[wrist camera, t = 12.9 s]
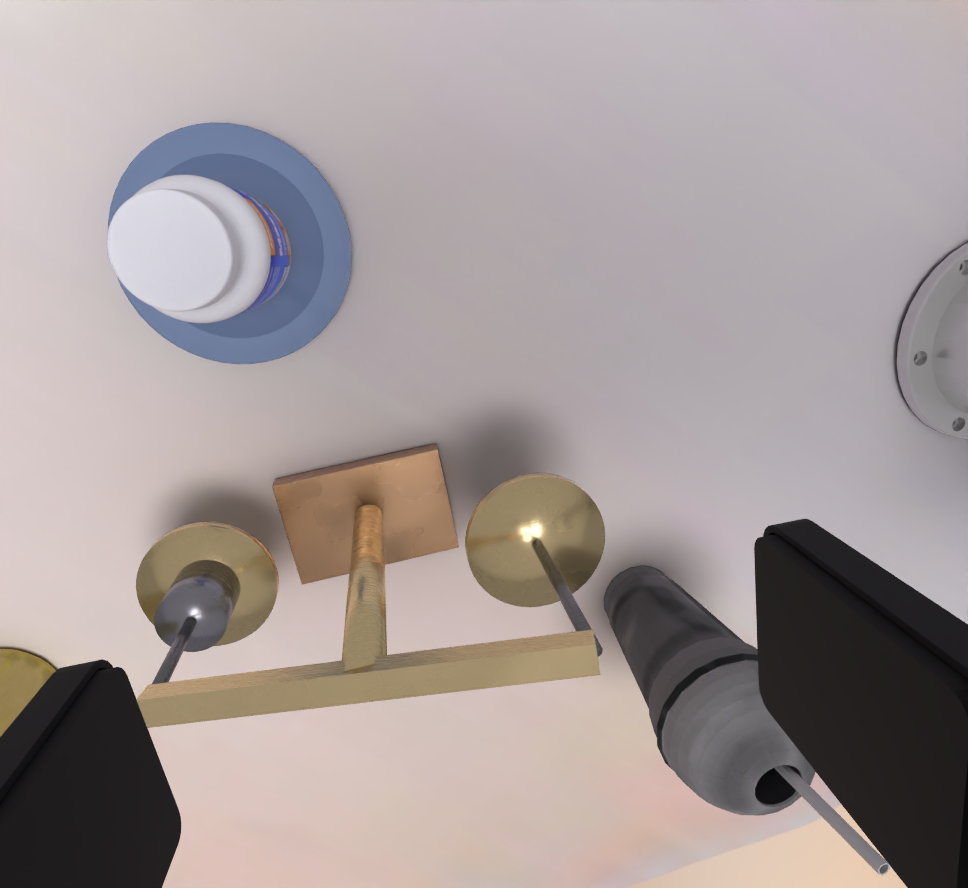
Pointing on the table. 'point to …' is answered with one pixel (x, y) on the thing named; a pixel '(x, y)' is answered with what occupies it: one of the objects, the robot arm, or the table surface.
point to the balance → (370, 587)
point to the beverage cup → (711, 704)
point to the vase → (19, 682)
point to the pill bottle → (198, 249)
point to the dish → (302, 211)
